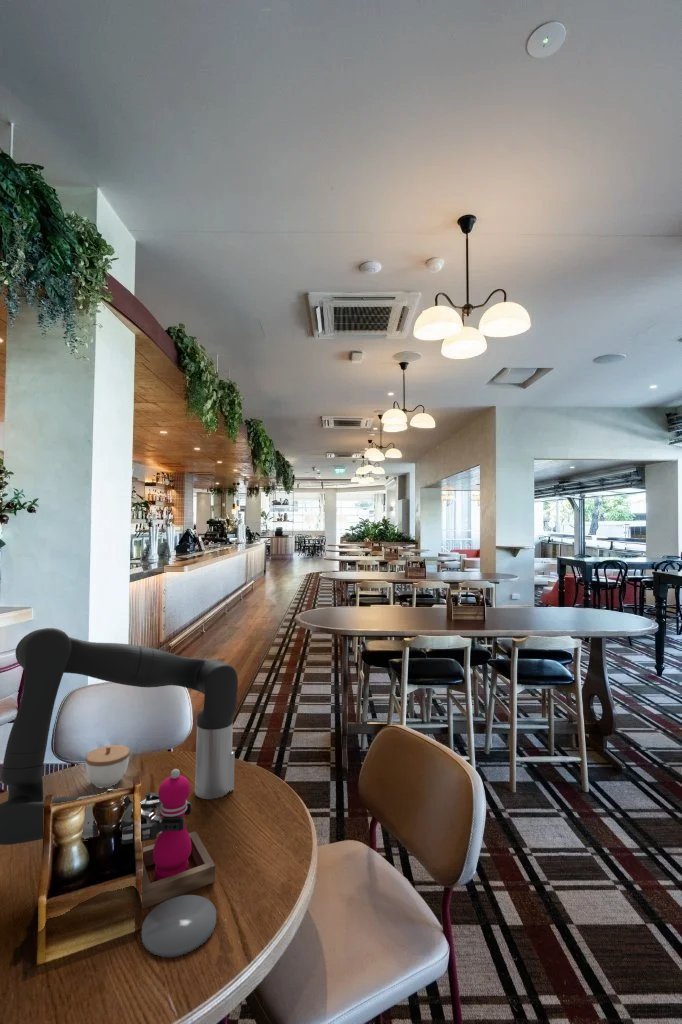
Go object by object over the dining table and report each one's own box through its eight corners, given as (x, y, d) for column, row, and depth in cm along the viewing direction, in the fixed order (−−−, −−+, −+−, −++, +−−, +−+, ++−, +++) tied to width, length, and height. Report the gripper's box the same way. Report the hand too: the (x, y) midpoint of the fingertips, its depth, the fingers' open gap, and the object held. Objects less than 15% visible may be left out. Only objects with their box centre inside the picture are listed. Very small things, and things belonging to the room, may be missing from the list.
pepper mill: (198, 866, 96) (201, 764, 98) (174, 891, 90) (178, 780, 91) (168, 858, 99) (172, 758, 100) (143, 881, 92) (147, 774, 93)
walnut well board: (195, 845, 103) (195, 831, 103) (214, 881, 92) (215, 865, 92) (130, 866, 96) (130, 851, 96) (142, 908, 85) (143, 891, 85)
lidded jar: (135, 781, 130) (137, 746, 131) (94, 797, 122) (96, 759, 123) (117, 769, 137) (119, 735, 138) (77, 783, 129) (79, 747, 130)
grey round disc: (204, 891, 90) (204, 886, 90) (225, 936, 80) (226, 929, 80) (135, 918, 83) (135, 911, 83) (149, 970, 73) (149, 963, 73)
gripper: (82, 817, 87) (177, 816, 88) (115, 779, 102) (197, 778, 103) (80, 861, 87) (176, 859, 88) (114, 816, 101) (196, 814, 102)
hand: (187, 815), depth 95 cm, fingers closed on pepper mill, 4 cm apart
